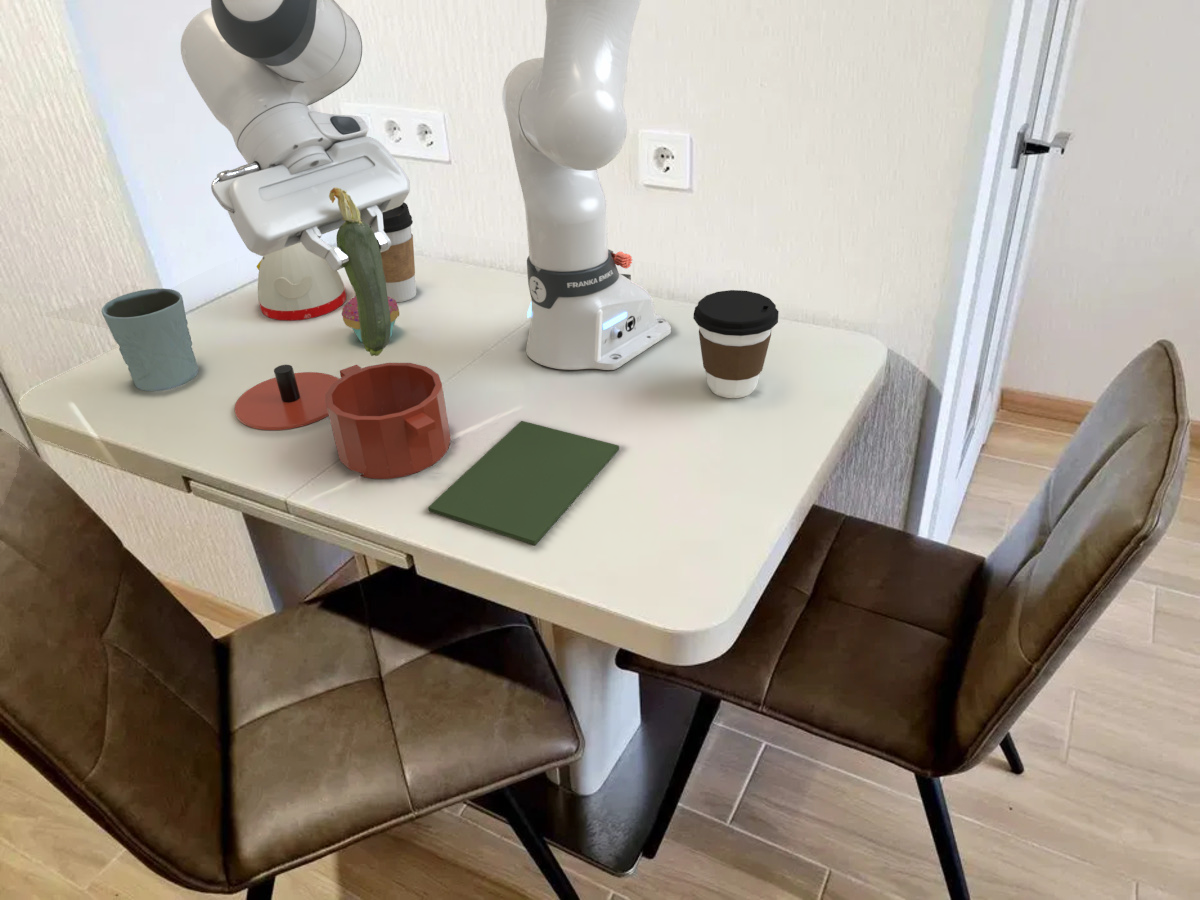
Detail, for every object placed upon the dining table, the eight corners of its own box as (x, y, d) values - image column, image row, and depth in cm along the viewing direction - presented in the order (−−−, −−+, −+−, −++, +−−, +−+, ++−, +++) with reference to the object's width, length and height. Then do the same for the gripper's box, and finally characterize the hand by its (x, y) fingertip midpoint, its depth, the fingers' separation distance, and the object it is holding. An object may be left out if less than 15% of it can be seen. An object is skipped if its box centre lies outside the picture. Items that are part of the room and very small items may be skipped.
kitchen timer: (265, 291, 152) (242, 206, 144) (346, 281, 154) (328, 197, 146) (257, 325, 141) (232, 235, 132) (345, 314, 143) (326, 224, 135)
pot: (404, 399, 119) (394, 345, 115) (483, 456, 107) (475, 398, 102) (311, 437, 112) (296, 381, 107) (384, 503, 100) (371, 442, 95)
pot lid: (318, 368, 128) (310, 333, 125) (366, 405, 118) (359, 369, 115) (220, 404, 120) (208, 368, 117) (263, 447, 111) (251, 409, 107)
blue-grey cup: (117, 396, 123) (86, 318, 116) (150, 362, 131) (123, 287, 124) (188, 395, 122) (161, 317, 116) (216, 361, 131) (193, 286, 124)
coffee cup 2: (780, 374, 121) (788, 294, 114) (762, 413, 113) (769, 329, 106) (704, 362, 125) (707, 283, 118) (681, 400, 116) (682, 317, 110)
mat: (521, 424, 113) (521, 420, 113) (619, 449, 107) (619, 445, 107) (428, 511, 98) (427, 507, 98) (535, 545, 93) (535, 541, 92)
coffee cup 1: (434, 290, 149) (421, 204, 141) (400, 309, 144) (384, 220, 135) (397, 281, 153) (382, 197, 145) (363, 299, 147) (345, 212, 139)
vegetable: (402, 346, 104) (371, 178, 93) (396, 364, 100) (363, 191, 89) (365, 348, 104) (329, 180, 93) (358, 366, 100) (319, 193, 89)
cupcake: (390, 353, 131) (375, 277, 124) (337, 350, 132) (320, 275, 126) (411, 328, 138) (399, 255, 131) (361, 325, 139) (346, 253, 133)
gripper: (207, 158, 86) (289, 274, 86) (373, 113, 99) (444, 214, 99) (197, 195, 91) (274, 305, 91) (356, 148, 104) (424, 244, 104)
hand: (364, 257), depth 95 cm, fingers closed on vegetable, 4 cm apart
